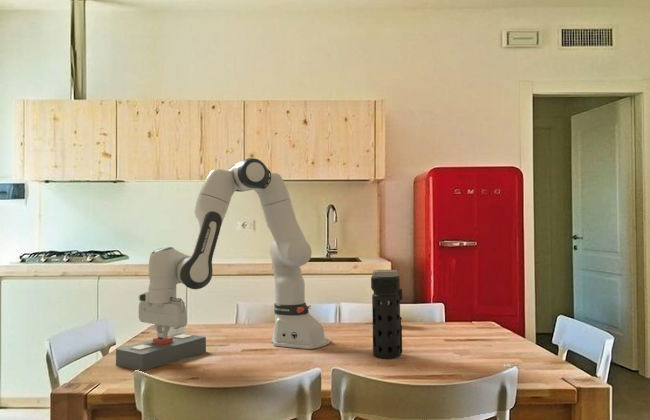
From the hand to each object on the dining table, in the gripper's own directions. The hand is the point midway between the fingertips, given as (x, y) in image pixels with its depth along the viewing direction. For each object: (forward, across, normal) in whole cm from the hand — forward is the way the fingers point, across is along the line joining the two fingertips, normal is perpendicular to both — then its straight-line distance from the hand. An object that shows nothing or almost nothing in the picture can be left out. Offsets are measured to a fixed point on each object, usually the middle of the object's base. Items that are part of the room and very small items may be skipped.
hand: (162, 338), depth 164 cm
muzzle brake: (+6, -63, -40) cm, 75 cm away
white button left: (+6, 0, +8) cm, 10 cm away
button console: (+6, 0, 0) cm, 7 cm away
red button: (+5, 0, 0) cm, 5 cm away
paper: (+7, -96, -49) cm, 108 cm away
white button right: (+6, 0, -9) cm, 10 cm away
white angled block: (+7, +22, -25) cm, 34 cm away
